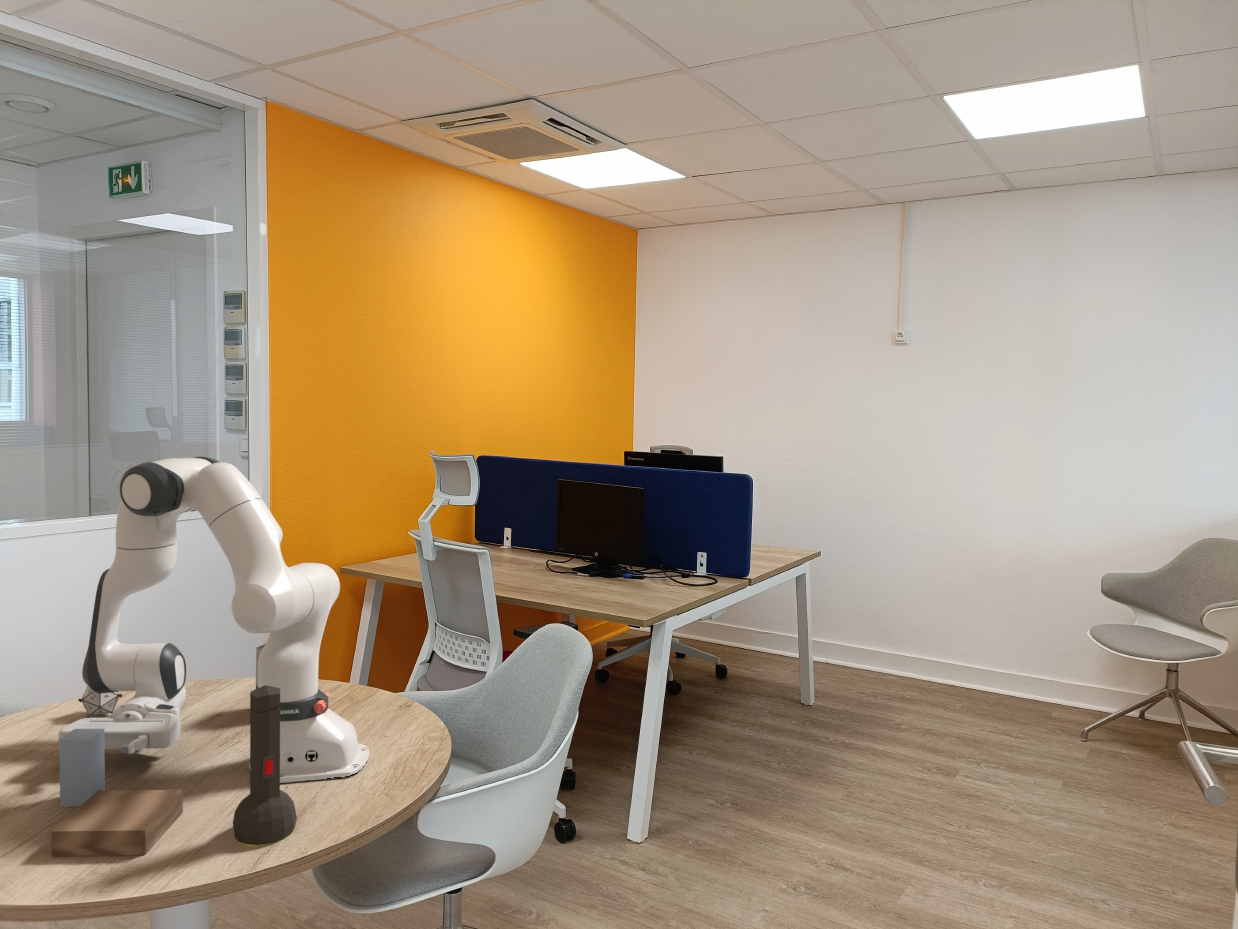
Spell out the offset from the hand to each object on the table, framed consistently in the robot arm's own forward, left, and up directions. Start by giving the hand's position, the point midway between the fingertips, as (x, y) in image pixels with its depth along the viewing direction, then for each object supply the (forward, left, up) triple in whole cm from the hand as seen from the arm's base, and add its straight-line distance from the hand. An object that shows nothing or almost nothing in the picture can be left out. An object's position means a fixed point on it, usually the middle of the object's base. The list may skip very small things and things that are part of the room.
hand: (99, 750), depth 157 cm
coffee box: (-21, -37, -7) cm, 43 cm away
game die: (+17, -35, -7) cm, 40 cm away
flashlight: (-35, +18, -7) cm, 40 cm away
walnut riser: (-12, +18, -7) cm, 22 cm away
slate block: (0, +6, -7) cm, 9 cm away
